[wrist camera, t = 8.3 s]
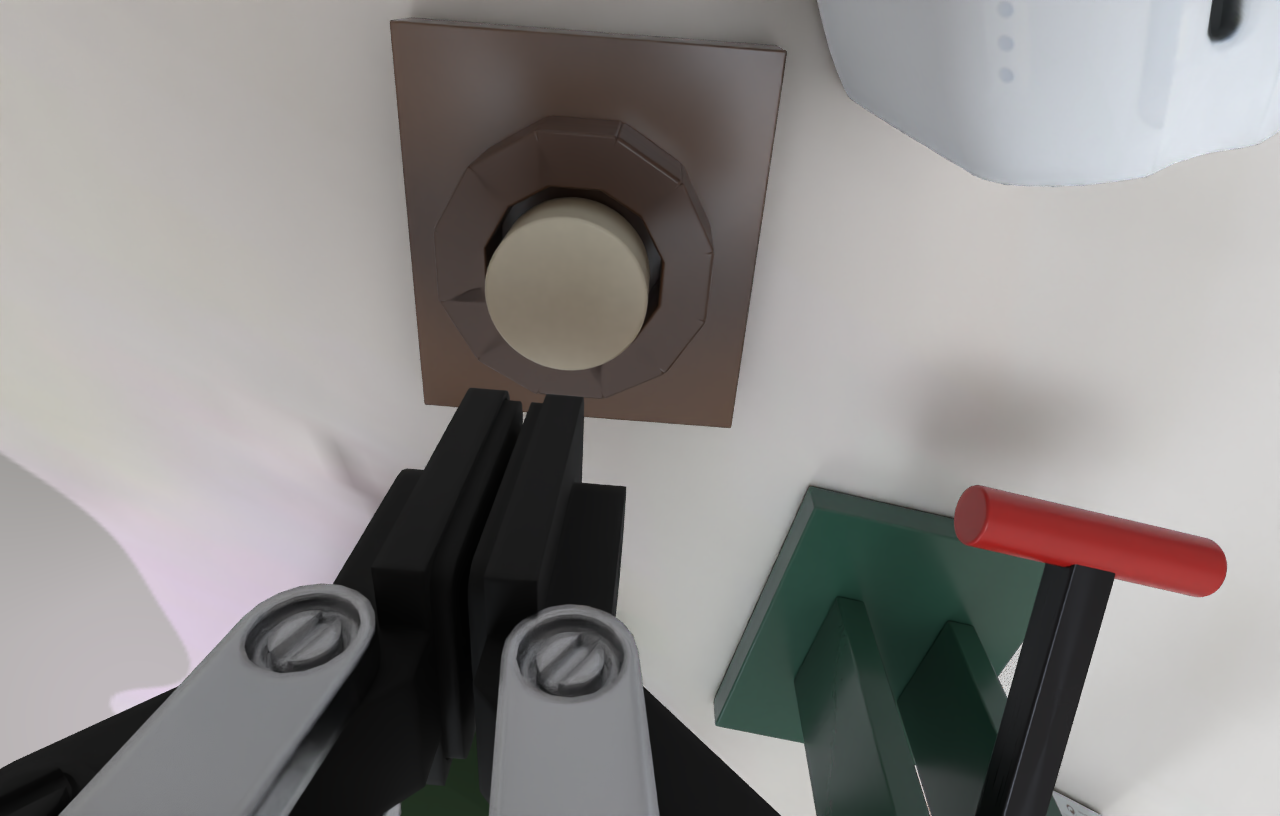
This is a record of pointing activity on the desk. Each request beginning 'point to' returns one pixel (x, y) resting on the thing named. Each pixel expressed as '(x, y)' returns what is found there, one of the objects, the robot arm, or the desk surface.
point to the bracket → (882, 656)
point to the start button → (569, 284)
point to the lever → (1066, 620)
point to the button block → (593, 169)
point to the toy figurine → (451, 792)
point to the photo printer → (1063, 81)
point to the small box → (1071, 807)
